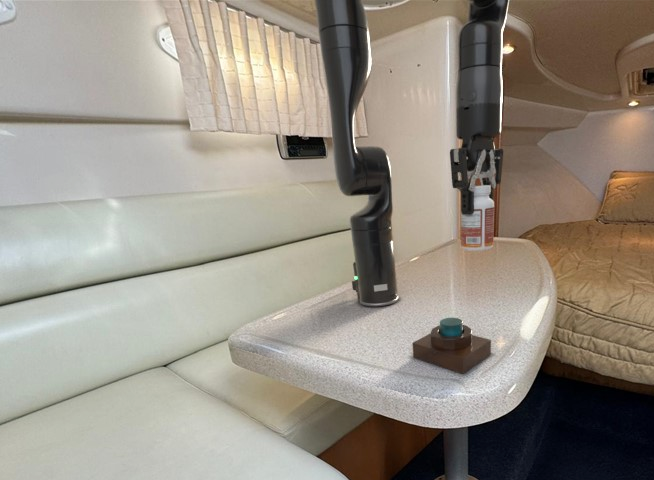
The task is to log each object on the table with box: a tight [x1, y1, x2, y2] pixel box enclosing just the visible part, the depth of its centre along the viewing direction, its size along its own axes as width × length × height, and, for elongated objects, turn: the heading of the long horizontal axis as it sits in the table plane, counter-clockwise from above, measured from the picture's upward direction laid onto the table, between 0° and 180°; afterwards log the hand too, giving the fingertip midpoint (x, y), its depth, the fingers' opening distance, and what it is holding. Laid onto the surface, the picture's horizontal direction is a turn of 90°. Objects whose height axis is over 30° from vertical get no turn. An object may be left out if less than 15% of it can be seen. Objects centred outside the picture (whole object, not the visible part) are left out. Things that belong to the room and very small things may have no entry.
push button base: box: [412, 324, 492, 375], centre depth 59 cm, size 10×8×4 cm
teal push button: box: [439, 317, 464, 336], centre depth 58 cm, size 4×4×2 cm
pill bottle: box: [460, 185, 495, 252], centre depth 68 cm, size 6×6×11 cm
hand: (477, 212), depth 68 cm, fingers closed on pill bottle, 6 cm apart
